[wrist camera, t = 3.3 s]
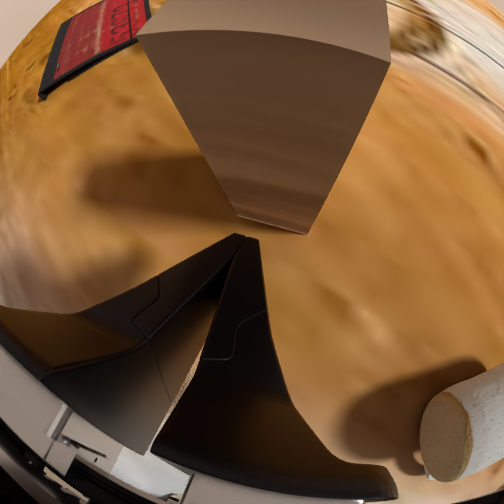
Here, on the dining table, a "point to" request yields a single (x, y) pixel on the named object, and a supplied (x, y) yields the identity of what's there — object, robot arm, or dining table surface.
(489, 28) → the dining table surface
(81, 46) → the binder
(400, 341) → the dining table surface
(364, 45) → the walnut block
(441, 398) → the ceramic mug
